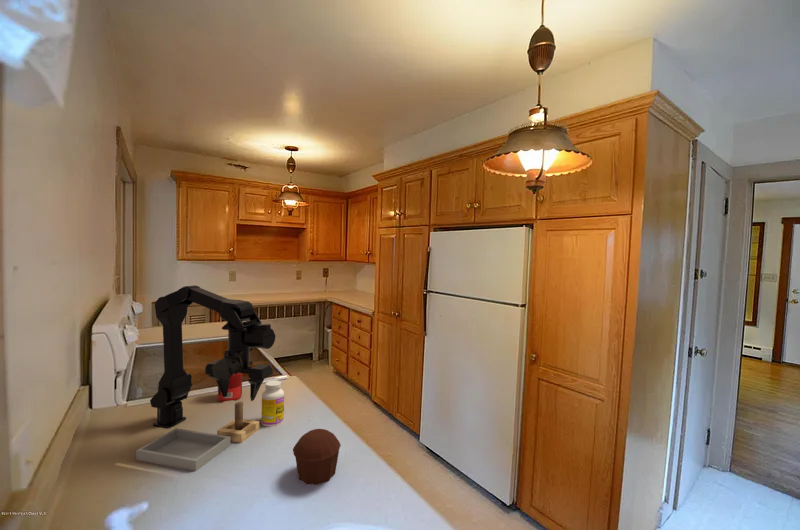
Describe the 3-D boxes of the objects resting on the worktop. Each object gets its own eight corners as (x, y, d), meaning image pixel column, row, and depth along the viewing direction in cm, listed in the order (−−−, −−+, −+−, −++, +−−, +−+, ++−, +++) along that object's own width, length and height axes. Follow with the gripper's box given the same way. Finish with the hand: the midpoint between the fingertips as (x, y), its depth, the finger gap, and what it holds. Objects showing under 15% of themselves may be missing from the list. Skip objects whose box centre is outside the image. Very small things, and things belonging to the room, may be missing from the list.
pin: (232, 435, 104) (233, 404, 104) (238, 431, 106) (238, 401, 106) (239, 436, 103) (239, 405, 103) (244, 432, 105) (244, 402, 105)
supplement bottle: (276, 429, 109) (277, 387, 108) (257, 427, 110) (257, 385, 110) (287, 419, 115) (288, 380, 115) (269, 417, 117) (269, 378, 116)
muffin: (301, 459, 94) (302, 421, 93) (343, 460, 93) (344, 422, 93) (285, 488, 82) (286, 445, 81) (334, 490, 81) (334, 447, 81)
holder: (217, 440, 102) (217, 430, 102) (236, 427, 109) (236, 418, 109) (241, 444, 100) (241, 434, 100) (259, 431, 108) (259, 421, 107)
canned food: (246, 397, 133) (246, 367, 132) (225, 404, 126) (226, 373, 126) (234, 392, 137) (234, 364, 136) (213, 399, 130) (213, 369, 130)
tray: (136, 462, 91) (136, 450, 91) (176, 438, 102) (176, 428, 102) (196, 473, 87) (196, 461, 87) (230, 447, 98) (230, 436, 98)
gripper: (189, 349, 98) (189, 406, 99) (249, 355, 94) (249, 414, 94) (219, 340, 109) (218, 391, 109) (273, 345, 105) (273, 398, 105)
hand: (238, 398), depth 104 cm, fingers open, 9 cm apart
